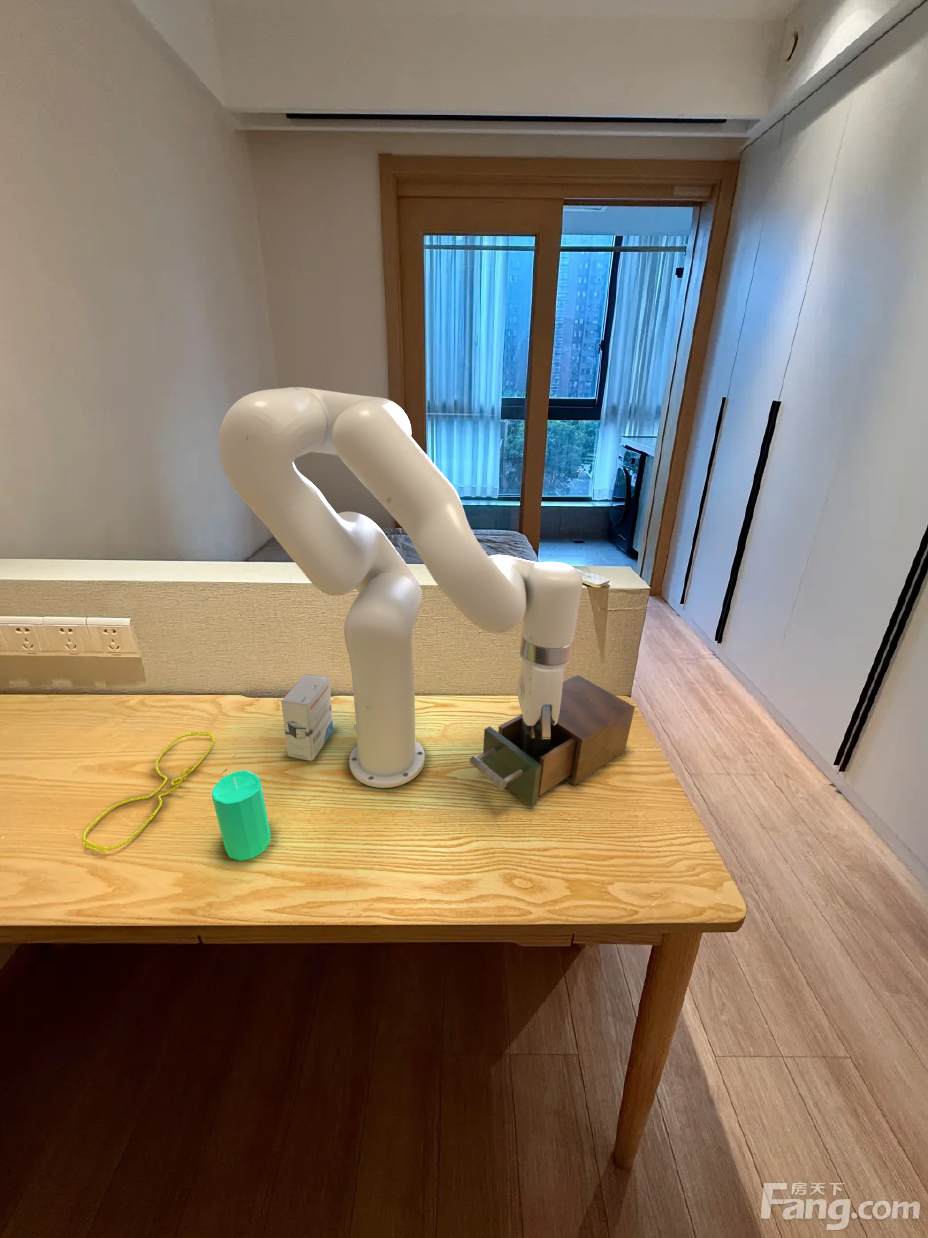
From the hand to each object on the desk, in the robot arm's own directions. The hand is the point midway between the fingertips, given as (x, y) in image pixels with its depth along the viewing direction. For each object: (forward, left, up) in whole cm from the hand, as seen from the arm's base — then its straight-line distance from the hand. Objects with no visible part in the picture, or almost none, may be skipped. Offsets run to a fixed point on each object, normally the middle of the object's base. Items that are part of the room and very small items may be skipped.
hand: (533, 744), depth 83 cm
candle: (-15, -41, -6) cm, 44 cm away
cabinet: (0, +11, -6) cm, 12 cm away
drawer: (0, -2, -5) cm, 6 cm away
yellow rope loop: (-33, -48, -6) cm, 59 cm away
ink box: (-29, -25, -6) cm, 39 cm away
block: (0, 0, 0) cm, 0 cm away
